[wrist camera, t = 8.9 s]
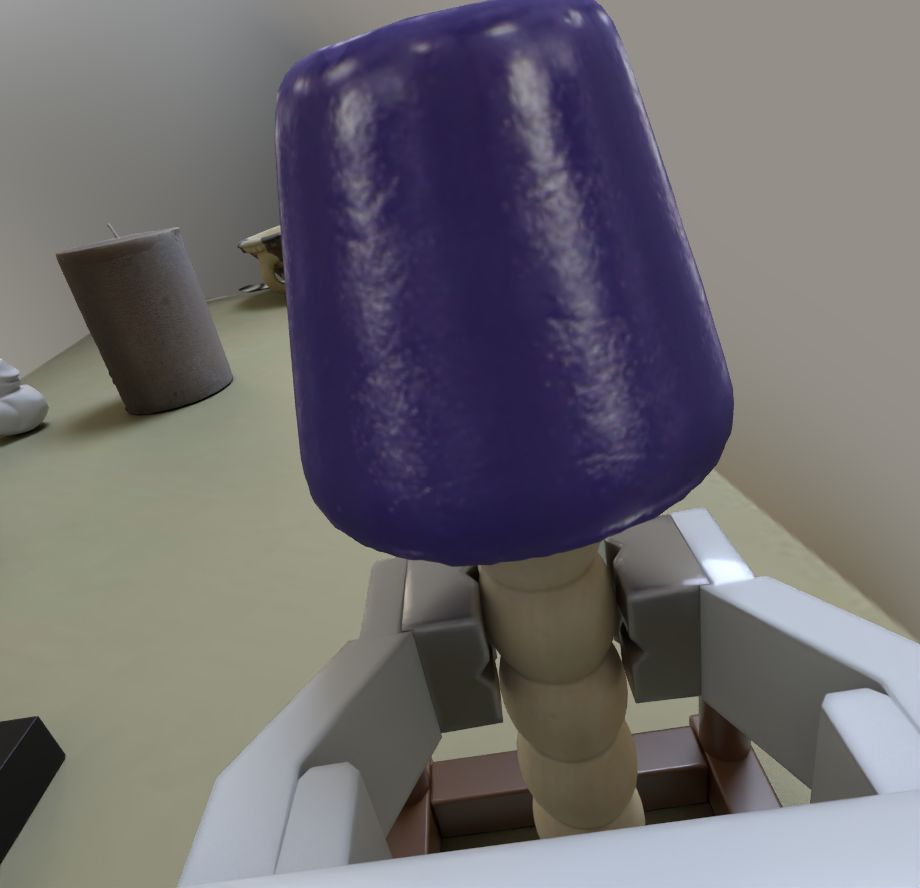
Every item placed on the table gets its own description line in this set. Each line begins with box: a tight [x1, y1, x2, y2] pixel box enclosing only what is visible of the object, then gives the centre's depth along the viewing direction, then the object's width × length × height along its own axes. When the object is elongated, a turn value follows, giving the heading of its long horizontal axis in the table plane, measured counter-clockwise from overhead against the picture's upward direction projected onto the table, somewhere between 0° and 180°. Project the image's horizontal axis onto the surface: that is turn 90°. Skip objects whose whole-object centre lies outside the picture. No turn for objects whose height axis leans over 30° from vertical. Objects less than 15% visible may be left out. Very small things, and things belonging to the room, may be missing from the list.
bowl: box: [237, 226, 286, 294], centre depth 90 cm, size 18×18×10 cm
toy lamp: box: [275, 0, 734, 839], centre depth 9 cm, size 5×5×17 cm
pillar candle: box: [56, 224, 233, 415], centre depth 53 cm, size 10×10×15 cm
